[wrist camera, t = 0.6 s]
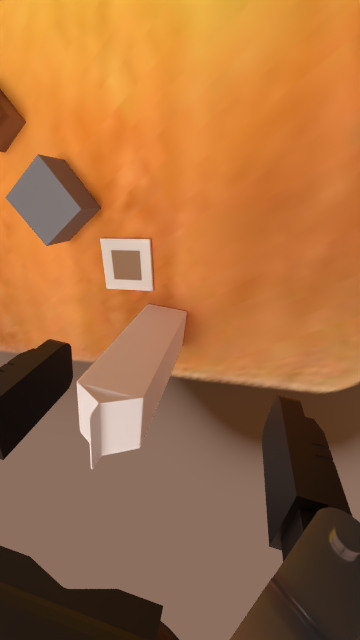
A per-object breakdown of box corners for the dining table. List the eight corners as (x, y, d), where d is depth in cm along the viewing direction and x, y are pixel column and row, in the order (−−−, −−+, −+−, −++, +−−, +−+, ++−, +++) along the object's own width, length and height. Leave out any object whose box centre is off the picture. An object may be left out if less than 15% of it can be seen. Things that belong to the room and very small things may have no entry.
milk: (187, 310, 38) (130, 427, 19) (182, 346, 41) (128, 482, 21) (147, 303, 39) (51, 406, 20) (144, 338, 42) (58, 462, 22)
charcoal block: (34, 197, 37) (5, 197, 32) (65, 160, 34) (37, 154, 29) (69, 240, 38) (46, 245, 34) (101, 207, 35) (81, 209, 31)
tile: (102, 238, 37) (99, 238, 36) (150, 238, 35) (148, 239, 34) (108, 287, 39) (106, 288, 39) (154, 289, 38) (152, 291, 37)
